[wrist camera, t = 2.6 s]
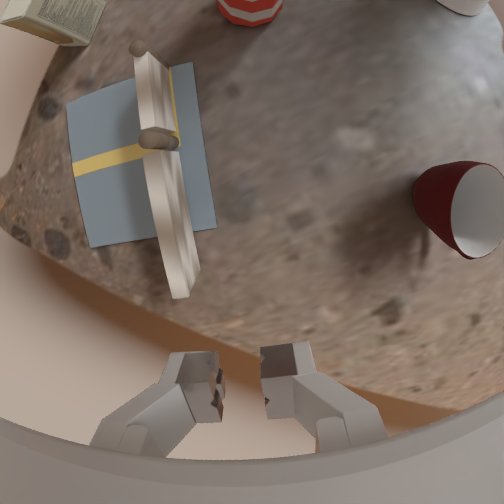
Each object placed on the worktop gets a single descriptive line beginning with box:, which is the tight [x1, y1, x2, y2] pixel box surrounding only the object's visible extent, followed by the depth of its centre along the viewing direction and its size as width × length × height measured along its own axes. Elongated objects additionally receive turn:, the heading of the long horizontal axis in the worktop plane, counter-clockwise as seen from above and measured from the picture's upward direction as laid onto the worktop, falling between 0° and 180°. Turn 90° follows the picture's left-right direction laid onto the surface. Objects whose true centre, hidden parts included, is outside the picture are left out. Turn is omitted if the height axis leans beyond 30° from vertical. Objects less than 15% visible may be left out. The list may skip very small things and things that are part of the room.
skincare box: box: [0, 0, 106, 46], centre depth 16 cm, size 6×4×12 cm
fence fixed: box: [129, 40, 179, 150], centre depth 22 cm, size 9×1×7 cm, turn 8°
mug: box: [412, 161, 504, 260], centre depth 23 cm, size 11×8×10 cm
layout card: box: [66, 62, 217, 248], centre depth 27 cm, size 17×15×1 cm
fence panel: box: [142, 151, 200, 299], centre depth 25 cm, size 12×1×6 cm, turn 8°
